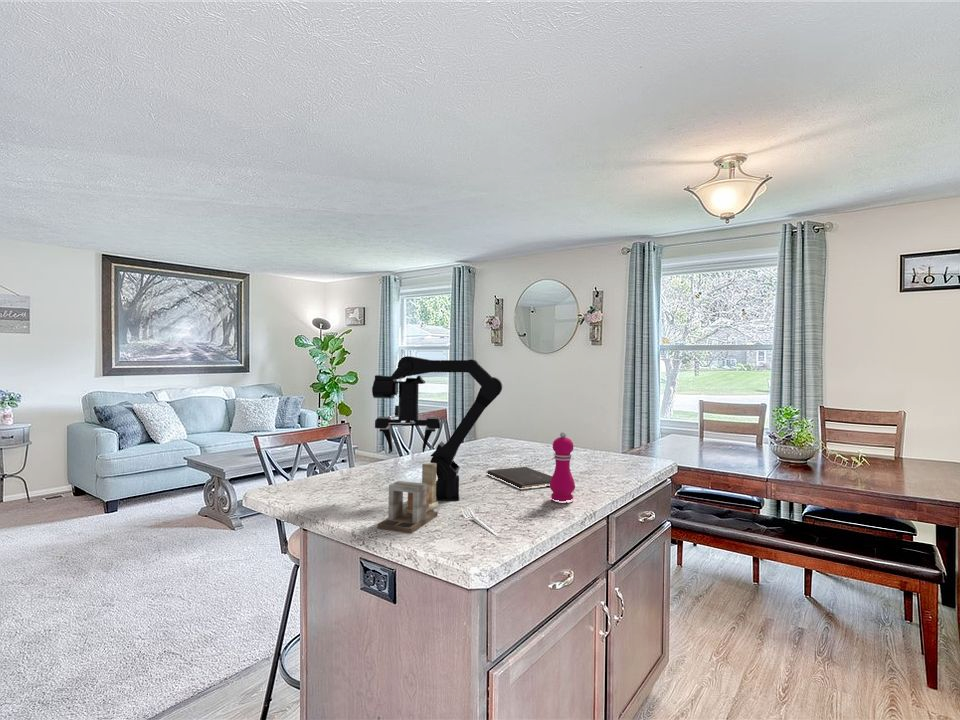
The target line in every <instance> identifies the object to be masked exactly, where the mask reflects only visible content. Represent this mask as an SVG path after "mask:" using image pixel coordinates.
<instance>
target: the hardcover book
mask: <svg viewBox="0 0 960 720" xmlns="http://www.w3.org/2000/svg"><path fill="white" fill-rule="evenodd" d="M487 473H488V474H490V475H493V476H495V477H497V478H500V479H502V480H504V481H506V482H508V483H511V484H513V485H515V486H517V487H519V488H525V487H532V486H539V485H545V484H550V481H551V478H552V476H553V475H549V474H546V473H544V472H541V471H539V470H536V469H532V468H530V467H527V466H519V467H510V468H499V469H488V470H487V472H486V474H487Z"/></svg>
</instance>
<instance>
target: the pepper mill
mask: <svg viewBox="0 0 960 720" xmlns="http://www.w3.org/2000/svg"><path fill="white" fill-rule="evenodd" d="M552 450H553V452H554V454H553V456H554V457H553V459H555V467H554V472H553V474H552V475H551V476H552V478H551V481H550V487H549V488H550V490H551V492H552V493H551V496H550V497H551V498H552V499H554V500H559V501H566V500H571V499H573V500H574V495H573V494H572V493H573V492H574V491H575V488H576V485H575V484H576V483H575V480H574V477H573V474H572V472H571V465H570V463H571V460H572V454H571V453H572V452H573V451H574V443H573V440H571V439H570V438H568V437H567V433H566V432H565V431H561V432H560V434H559V437H557V438H556V439H554V440H553V441H552Z"/></svg>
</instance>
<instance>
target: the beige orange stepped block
mask: <svg viewBox="0 0 960 720" xmlns="http://www.w3.org/2000/svg"><path fill="white" fill-rule="evenodd" d="M421 465H422V466H421V467H422V471H421V474H422V475H421V483H424V484H427V496H426V512H428V511H432V510H433V509H434V508H435V507H437V506H438V505H439V501H437V497H436V481H437V474H436V467H437V463H430V462H424V463H422V464H421ZM407 508H408V509H407V510H406V513H409V514H413V493H410V492H407Z"/></svg>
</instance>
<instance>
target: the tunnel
mask: <svg viewBox="0 0 960 720" xmlns="http://www.w3.org/2000/svg"><path fill="white" fill-rule="evenodd" d="M408 492H410V493H413V514H409V513H406V510H407V509H408V507H405V508H404V509H403V507H404V506H403V505H404V493H408ZM426 496H427V484H424V483H422V482H414V481H404V480H398V481H395V482H393V483H390V484H389V485H388V508H387V509H388V513H387V515H388V516H387V517H388V518H386V519H383V520H382V521H380V522H378V523H377V527H376V528H377V529H381V530H386V531H387V530H388V531H393V530H394V532H401V533H407V534H409V533H410V534H412V533H414V532H415V531H417V530H418V529H420V528H421V527H423V526H424V525H426V524H427V523H429V522H431V521H432V520H434V519H435V518H437V517H438V514H439V513H438V511H433V510H429V511H428V512H426Z"/></svg>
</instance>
